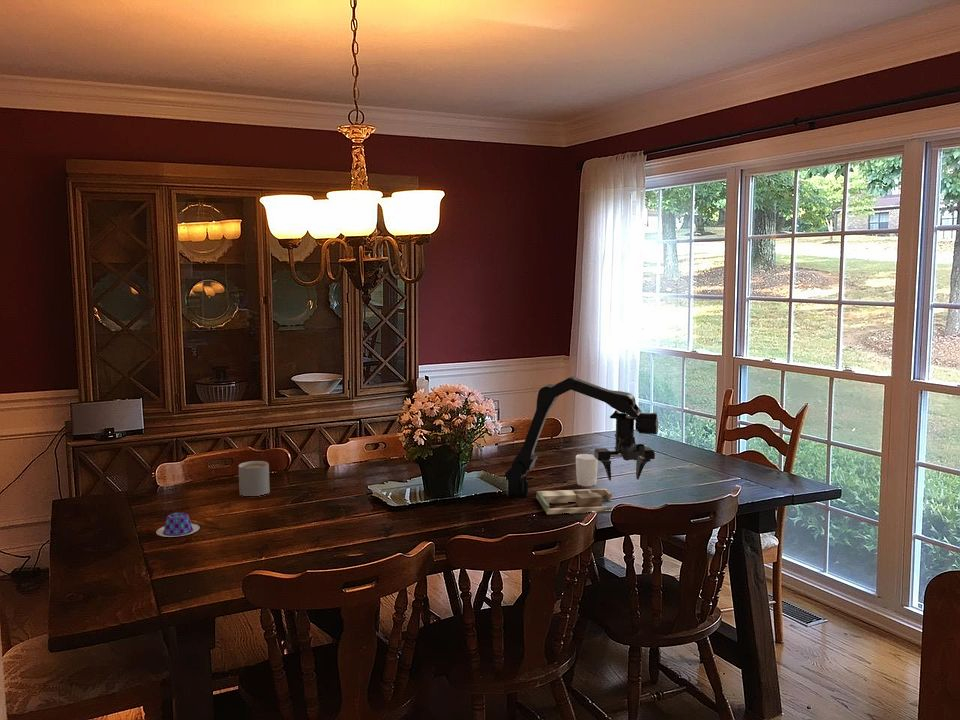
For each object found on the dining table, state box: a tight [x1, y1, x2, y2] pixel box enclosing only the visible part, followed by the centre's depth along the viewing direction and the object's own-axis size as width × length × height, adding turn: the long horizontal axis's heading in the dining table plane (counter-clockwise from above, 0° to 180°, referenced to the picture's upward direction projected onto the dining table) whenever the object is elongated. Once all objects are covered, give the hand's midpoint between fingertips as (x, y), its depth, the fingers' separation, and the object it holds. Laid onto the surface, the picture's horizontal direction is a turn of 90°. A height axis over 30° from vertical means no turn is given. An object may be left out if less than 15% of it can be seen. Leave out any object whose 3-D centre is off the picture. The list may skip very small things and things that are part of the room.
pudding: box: [155, 512, 200, 538], centre depth 234 cm, size 12×12×5 cm
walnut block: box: [575, 493, 603, 508], centre depth 256 cm, size 7×5×4 cm
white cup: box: [575, 453, 599, 487], centre depth 282 cm, size 8×8×10 cm
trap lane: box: [536, 488, 615, 515], centre depth 258 cm, size 24×17×2 cm
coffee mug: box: [238, 460, 271, 497], centre depth 274 cm, size 13×10×10 cm
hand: (623, 479), depth 257 cm, fingers open, 9 cm apart
